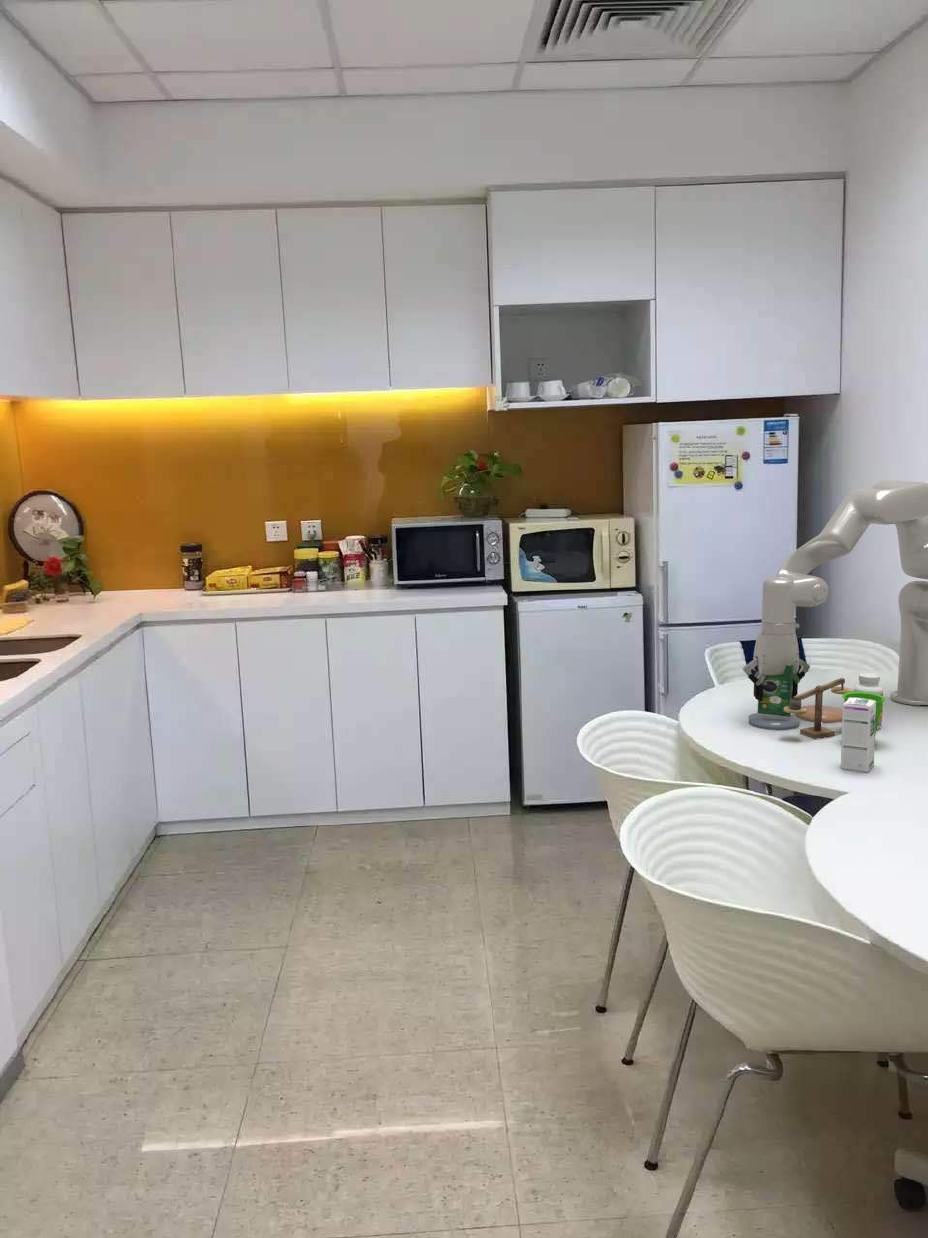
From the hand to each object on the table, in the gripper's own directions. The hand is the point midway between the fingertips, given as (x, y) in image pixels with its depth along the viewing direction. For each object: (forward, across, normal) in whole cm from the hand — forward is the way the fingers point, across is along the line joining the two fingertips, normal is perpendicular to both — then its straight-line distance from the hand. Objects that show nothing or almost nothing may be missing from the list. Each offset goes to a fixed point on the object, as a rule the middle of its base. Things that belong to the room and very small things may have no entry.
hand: (775, 698), depth 246 cm
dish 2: (+6, -14, -4) cm, 16 cm away
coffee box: (+4, 0, 0) cm, 4 cm away
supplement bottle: (+7, -20, +7) cm, 22 cm away
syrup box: (+6, -4, +34) cm, 35 cm away
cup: (+7, -13, +19) cm, 23 cm away
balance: (+6, -6, +11) cm, 14 cm away
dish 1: (+6, 0, 0) cm, 6 cm away
